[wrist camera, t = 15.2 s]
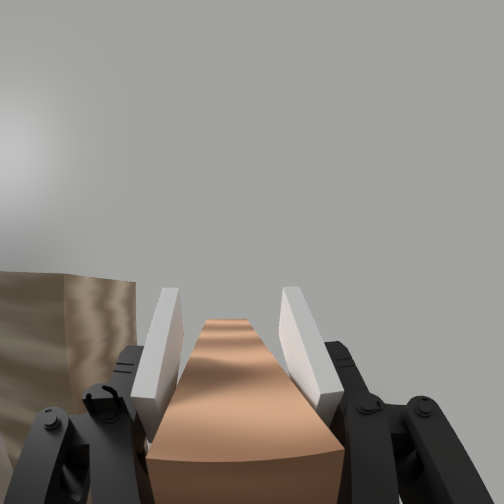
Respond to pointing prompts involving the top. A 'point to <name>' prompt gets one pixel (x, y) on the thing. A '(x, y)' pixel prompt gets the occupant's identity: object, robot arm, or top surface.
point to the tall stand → (57, 345)
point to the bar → (241, 430)
